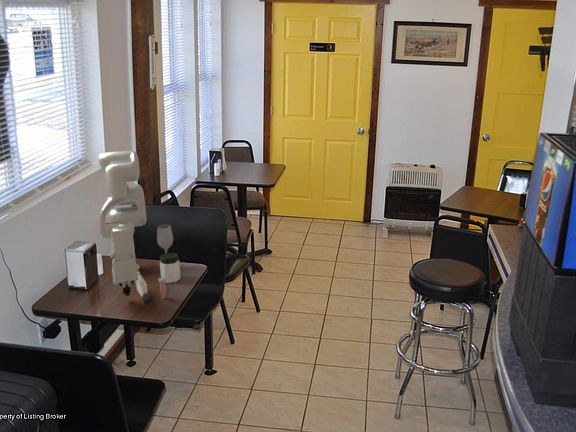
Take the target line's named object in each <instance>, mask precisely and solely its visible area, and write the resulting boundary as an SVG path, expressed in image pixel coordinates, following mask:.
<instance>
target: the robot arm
mask: <svg viewBox="0 0 576 432" xmlns="http://www.w3.org/2000/svg"><path fill="white" fill-rule="evenodd" d="M139 161H140V160H139V157H138V153H137V152H136V151H135V150H121V151H108V152H103V153H100V154H99V155H98V164H99V166H100V169H102V171H103V173H104V175H105V176H104V177H105V185H106V186H105V187H106V195H107V199H106V201H105V203H104V204H103V205H102V206H101V208H100V210H99V213H98V225H99V227H98V228H99V234H100V237H101V239H102V240H104V241H111V245H112V254H110V255H109V257H110V259H112V261H111V263H112V264H111V274H112V275H111V276H112V284H113V285H114V286H120V287H122V294H123V295H124V296H125V297H128V296H131V294H130V293H131V292H132V291H131V286H132V284H134V282H135V281H137V280H138V272H139V271H140V265H139V264H137V263H136V262H137V261H136V252H135V243H134V242H135V241H134V236H133V235H134V234H135V227H140V226H141V227H142V226H145V225H146V223H147V211H146V209H147V208H146V201H145V200H146V199H145V193H144V189H143V187H142V186H141V185H140V184H138V183H136V184H135V183H133V184H127V183H128V182H137V181H138V180H139V179H140V163H139ZM132 205H134V206H132ZM116 206H118V207H116ZM119 206H123V207H119ZM124 206H126V207H124ZM114 207H116V208H114ZM107 214H108V215H107ZM106 217H108V218H107V219H108V222H106ZM137 271H138V272H137ZM125 283H126V284H125Z"/></svg>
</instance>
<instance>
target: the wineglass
mask: <svg viewBox="0 0 576 432" xmlns="http://www.w3.org/2000/svg"><path fill="white" fill-rule="evenodd" d="M156 232H157V233H156V241H157V242H156V243H157V244H158V246H159V247H160V248H162V249H163V250H164V251H165V253H168V249H169V248H170V247H172V245H173V243H174V235H173V231H172V227H171V225H169V224H161V225H158V227H157V231H156Z"/></svg>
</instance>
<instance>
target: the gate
mask: <svg viewBox="0 0 576 432" xmlns="http://www.w3.org/2000/svg"><path fill="white" fill-rule="evenodd" d="M137 272H138V280H137V281H134V282H135V289H136V291H137V292H138V294H139V296H140V297H141V298H142V301H144V302H149V300H150V299H151V295H150V294H149V293H148V292H149V291H148V285H147V283H146V281H145V279H144V278H143V277H142V275H141V272H140V271H139V270H138V271H137Z"/></svg>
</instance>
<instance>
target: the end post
mask: <svg viewBox="0 0 576 432" xmlns="http://www.w3.org/2000/svg"><path fill="white" fill-rule="evenodd" d="M157 280H158V281H157V282H158V283H159V290H160V300H166V299H167V298H168V297H167V289H166V288H167V287H166V283H165V282H166V279H165V278H161V277H159V278H158V279H157ZM165 298H166V299H165Z"/></svg>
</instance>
